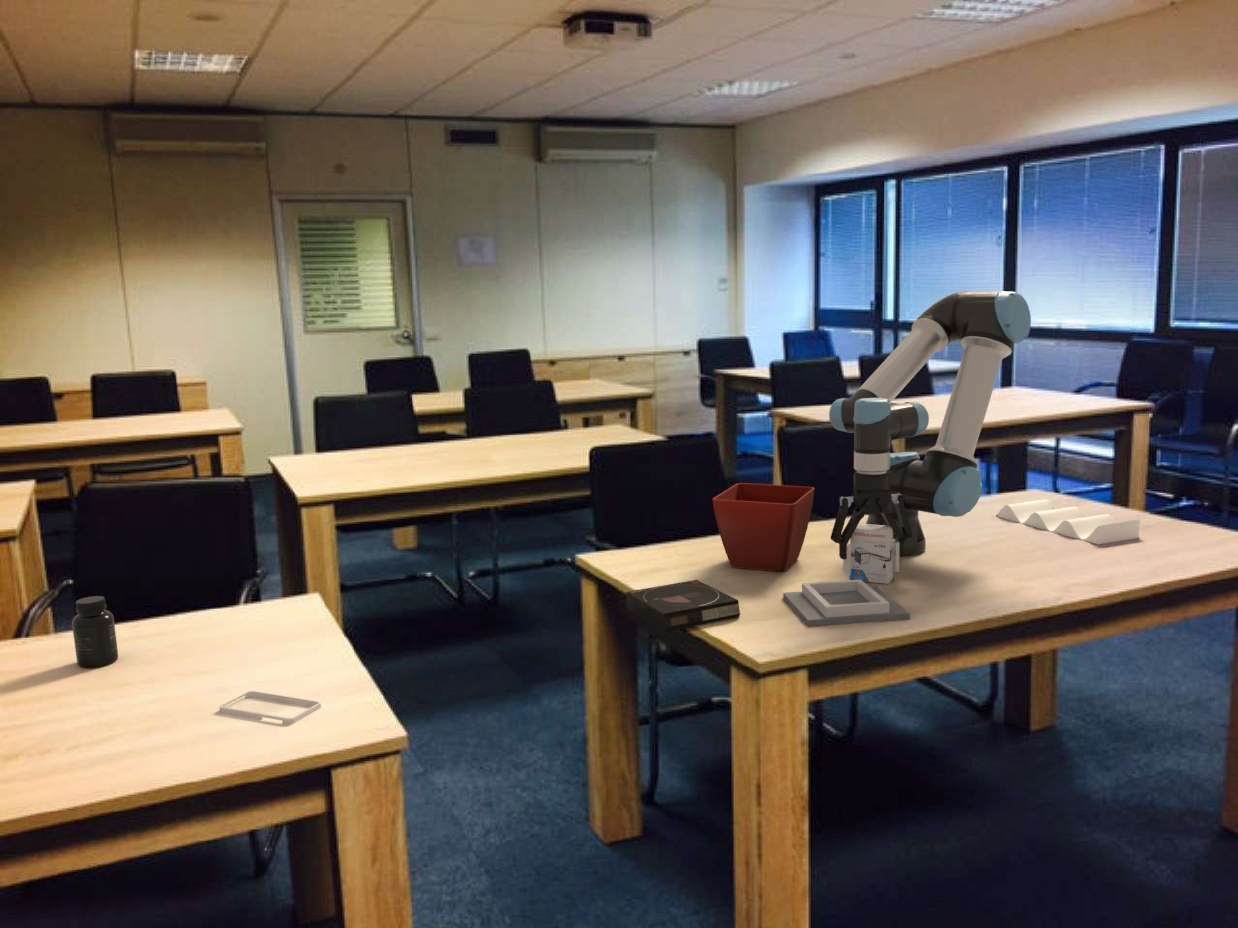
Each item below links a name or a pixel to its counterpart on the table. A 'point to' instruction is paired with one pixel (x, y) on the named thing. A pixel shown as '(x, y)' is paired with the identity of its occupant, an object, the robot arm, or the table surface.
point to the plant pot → (763, 524)
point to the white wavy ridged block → (1070, 522)
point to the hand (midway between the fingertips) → (871, 571)
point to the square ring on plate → (843, 603)
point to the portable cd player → (682, 605)
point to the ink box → (872, 553)
